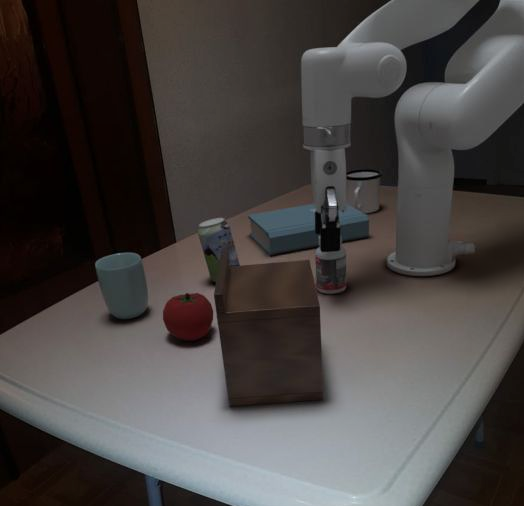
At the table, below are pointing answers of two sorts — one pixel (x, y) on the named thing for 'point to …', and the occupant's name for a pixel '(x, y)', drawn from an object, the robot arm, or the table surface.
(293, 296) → the wooden box
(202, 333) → the tomato
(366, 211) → the mug
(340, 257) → the pill bottle
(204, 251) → the beverage can
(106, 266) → the cup
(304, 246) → the book
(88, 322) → the table surface
